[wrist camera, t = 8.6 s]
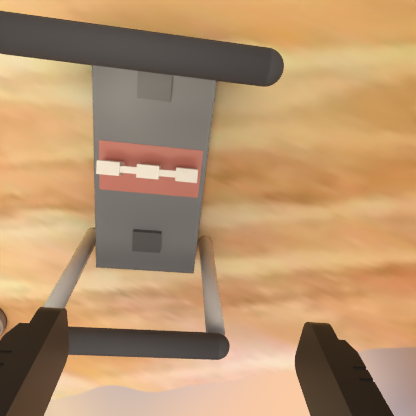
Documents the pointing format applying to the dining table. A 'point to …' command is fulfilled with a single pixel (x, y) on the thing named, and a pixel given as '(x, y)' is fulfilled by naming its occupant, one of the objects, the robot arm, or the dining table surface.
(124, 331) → the dark grey rod
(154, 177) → the breaker paddles
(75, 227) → the dining table surface
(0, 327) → the travel mug
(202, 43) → the dark grey rounded rod
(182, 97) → the pdu
